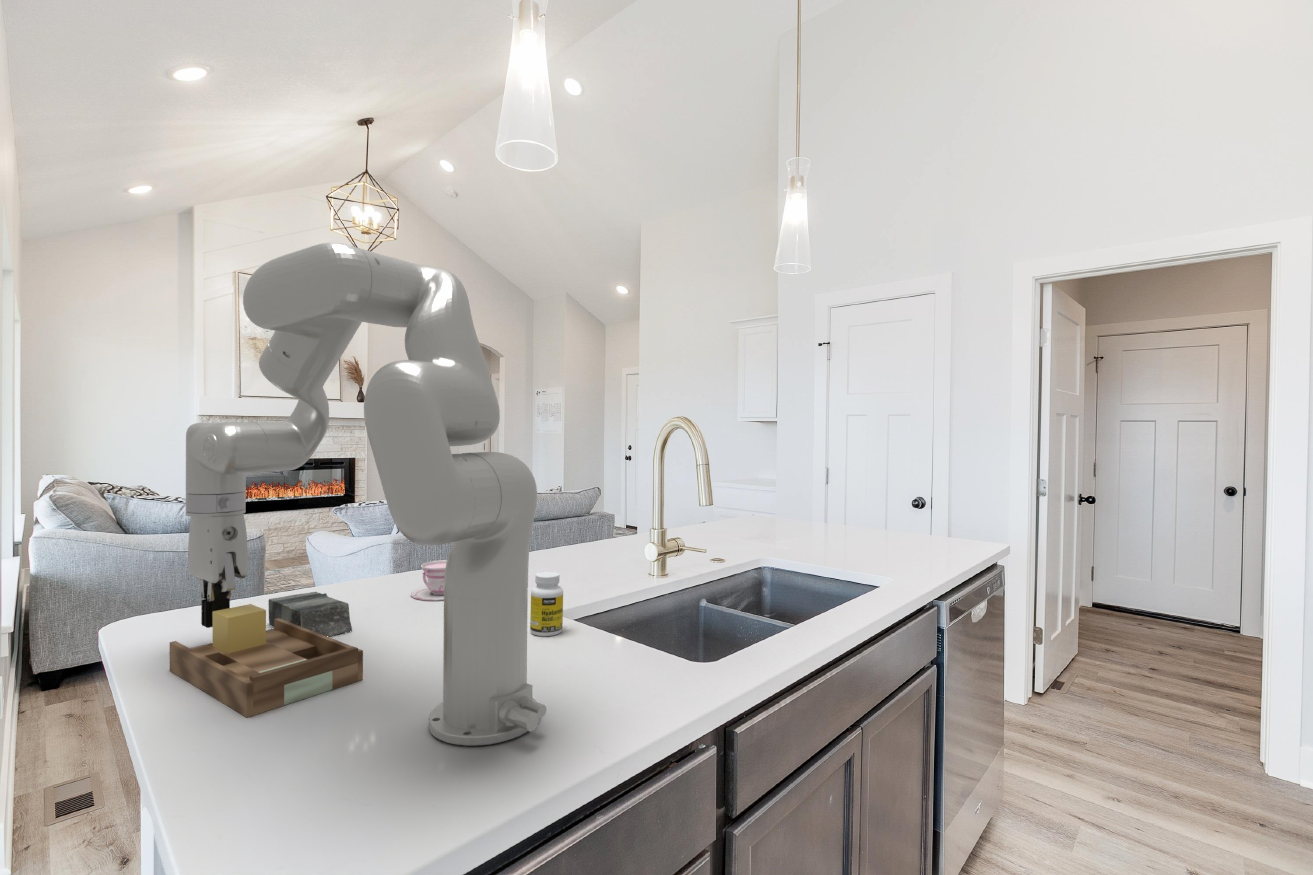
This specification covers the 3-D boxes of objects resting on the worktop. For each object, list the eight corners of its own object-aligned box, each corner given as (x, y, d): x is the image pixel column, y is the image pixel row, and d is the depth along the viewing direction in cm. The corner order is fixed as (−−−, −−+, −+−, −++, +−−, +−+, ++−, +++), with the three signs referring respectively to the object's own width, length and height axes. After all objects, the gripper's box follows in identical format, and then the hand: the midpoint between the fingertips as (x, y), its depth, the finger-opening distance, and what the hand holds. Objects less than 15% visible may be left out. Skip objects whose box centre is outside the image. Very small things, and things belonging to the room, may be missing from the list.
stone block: (322, 615, 118) (322, 586, 118) (357, 633, 109) (357, 601, 109) (267, 625, 111) (268, 595, 111) (300, 645, 102) (300, 612, 102)
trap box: (362, 679, 88) (363, 646, 88) (246, 717, 76) (246, 679, 76) (278, 643, 102) (278, 614, 102) (169, 670, 90) (169, 638, 90)
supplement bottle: (540, 639, 106) (540, 579, 105) (524, 630, 110) (524, 573, 110) (568, 632, 109) (569, 574, 109) (552, 624, 113) (552, 569, 113)
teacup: (440, 584, 141) (441, 556, 141) (484, 591, 136) (484, 561, 136) (397, 597, 131) (397, 566, 130) (442, 605, 125) (442, 573, 125)
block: (265, 643, 94) (266, 609, 94) (227, 653, 90) (227, 617, 90) (250, 637, 97) (250, 603, 97) (212, 646, 93) (212, 611, 93)
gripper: (265, 506, 97) (264, 628, 97) (223, 498, 105) (222, 610, 106) (208, 511, 91) (207, 641, 91) (167, 502, 99) (167, 621, 100)
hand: (215, 624), depth 98 cm, fingers closed
